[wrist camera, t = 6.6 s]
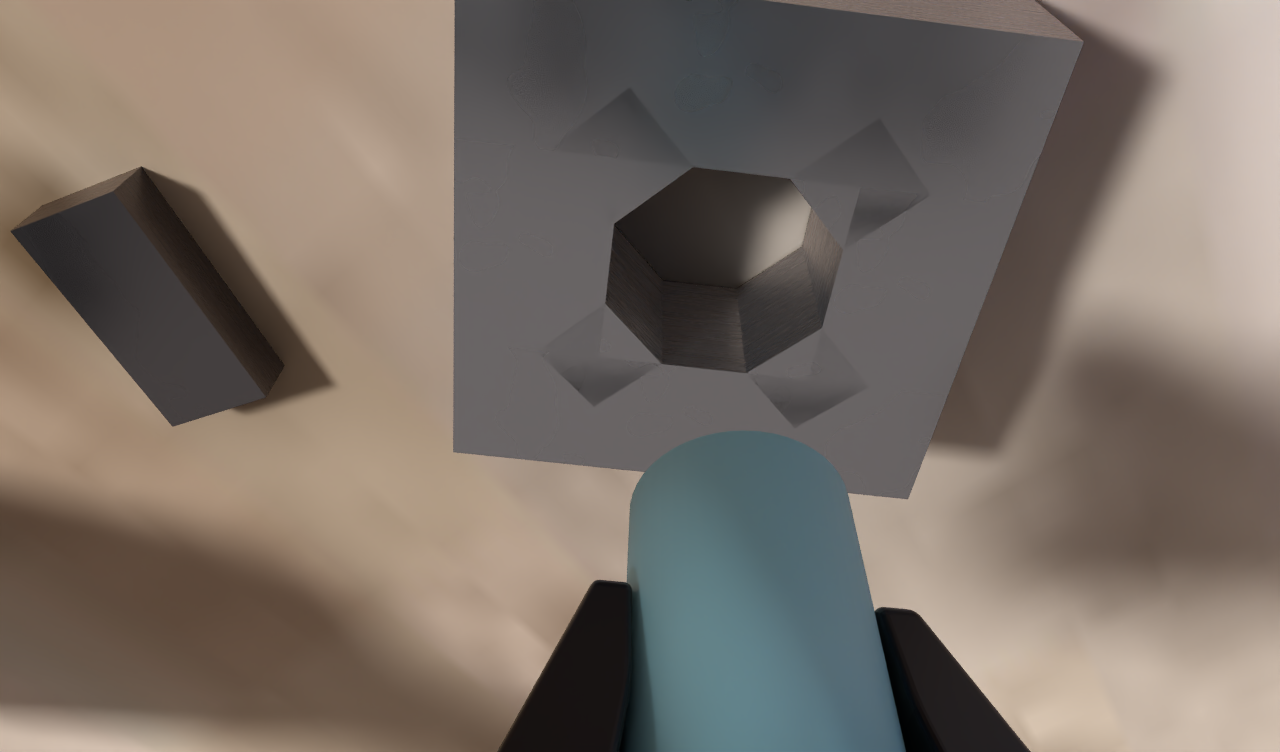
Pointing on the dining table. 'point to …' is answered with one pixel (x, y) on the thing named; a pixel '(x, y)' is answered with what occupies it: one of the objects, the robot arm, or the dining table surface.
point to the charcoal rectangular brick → (151, 297)
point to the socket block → (745, 143)
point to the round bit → (751, 606)
